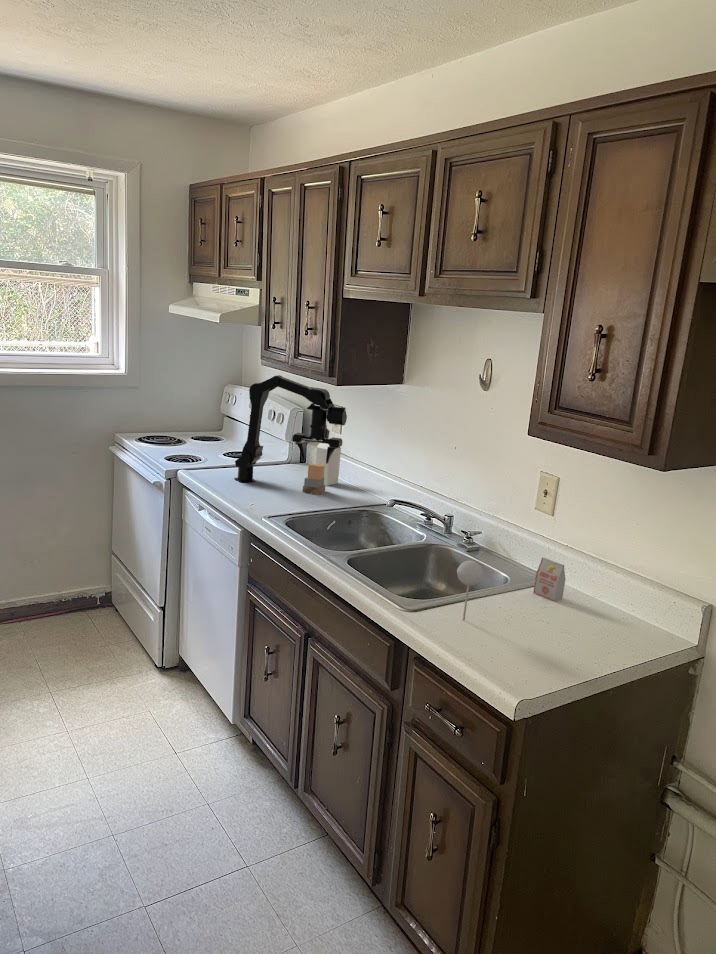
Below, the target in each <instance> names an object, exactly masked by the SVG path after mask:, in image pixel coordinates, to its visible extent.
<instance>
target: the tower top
mask: <svg viewBox="0 0 716 954" xmlns="http://www.w3.org/2000/svg"><path fill="white" fill-rule="evenodd" d="M303 481H304V482H303V486H307V487H314V488H320V487H322V486H323V485H324V478H322V479H321V480H314V479H308V476H306V477H304V480H303Z"/></svg>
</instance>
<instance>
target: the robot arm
mask: <svg viewBox="0 0 716 954" xmlns="http://www.w3.org/2000/svg"><path fill="white" fill-rule="evenodd" d="M276 388H281V389H282V390H283V389H284V390H286V391H288V392H291V393H294V394H295V395H299V396H301V397H303V398H305V399H306V400H307V401H308V402H310V405H309V406H307V407H306V409H307V410H311V419H310V420H311V421H310V425H309V427H310V435H309V436H308V435H307V433H305V432H304V433H303V432H302V433H301V432H296V433H294V434H293V435H292V439H291V441H292V442H294V443H295V445H297V446H298V448H299V451H300V453H301V457H302V460H303V461H306V457H307V443H308V442H312V443H317V444H319V443H325V444H329V447H328V448H327V457H326V464H328V462H329V460H330V457H331V455H332V453H333V451H334V450H335V449H336V448H338V447H340V448H341V447H342V446H343V439H342V438H340V437H334V436H333V437H330V430H329V429H328V426H327V425H328V424H329V425H337V426H345V425H346V423H347V419H348V415H347V410H346V409H347V408H346V407H344V406H335V404H334V402H333V401H332V399H331V395H330V392H329V390H327V389H326V388H320V387H311V386H308V385H305V384H302V383H299V382H297V381H294V380H292V379H289V378H286V377H283V376H282V375H280V374H279V375H274V376H271V378H269V379H266V380H264V381H262V382H256V383H253V384H251V385H250V386H249V389H248V391H249V402H250V405H251V407H250V414H249V423H248V428H247V429H248V430H247V438H246V442H245V444H244V446H243V447H242V451H241V453H240V457H239V458H237V459H236V460H235V461H234V464H235V467H237V477H234V480H235V481H237V480H238V482H240V483H242V482H243V483H252V482H253V481H255V482H256V479H254V465H256V464H257V461H259V460H260V459H261V457H262V456H263V450H264V449H263V448H264V445H261V444H260V435H261V427H262V419H263V412H264V405H265V404H266V402H267V400H268V397H269V394H270V392H271V391H273V390H275V389H276ZM327 423H328V424H327ZM325 438H326V439H325ZM328 438H331V439H328ZM253 483H254V482H253Z"/></svg>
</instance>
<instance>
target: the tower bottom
mask: <svg viewBox="0 0 716 954" xmlns="http://www.w3.org/2000/svg"><path fill="white" fill-rule="evenodd" d="M324 491H326V485H323V486H322V487H320V488H314V487H307V486H304V485H302V493H303V492H305V494H310V493H312V494H311V495H316V494H318V495H317V496H321V495H322V494H323V493H324ZM320 494H321V495H320Z"/></svg>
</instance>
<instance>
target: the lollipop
mask: <svg viewBox="0 0 716 954" xmlns="http://www.w3.org/2000/svg"><path fill="white" fill-rule="evenodd" d="M456 575H457V578H458V580H459V581H460V582H461V583H462V584H463V585H465V586H466V591H465V592H466V593H465V601H464V606H463V607H464V608H463V617H462V621H466V613H467V605H468V597H469V592H470V591H469V590H470V586H471V587H472V586H475V585H477V584H478V583H480V581H481V580H482V578H483V576H484V571H483V569H482V566H481V565H480V564H479V563H478V562H476V561H474V560H465V561H464V562H461V564H459V566H458V567H457V570H456Z"/></svg>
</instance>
